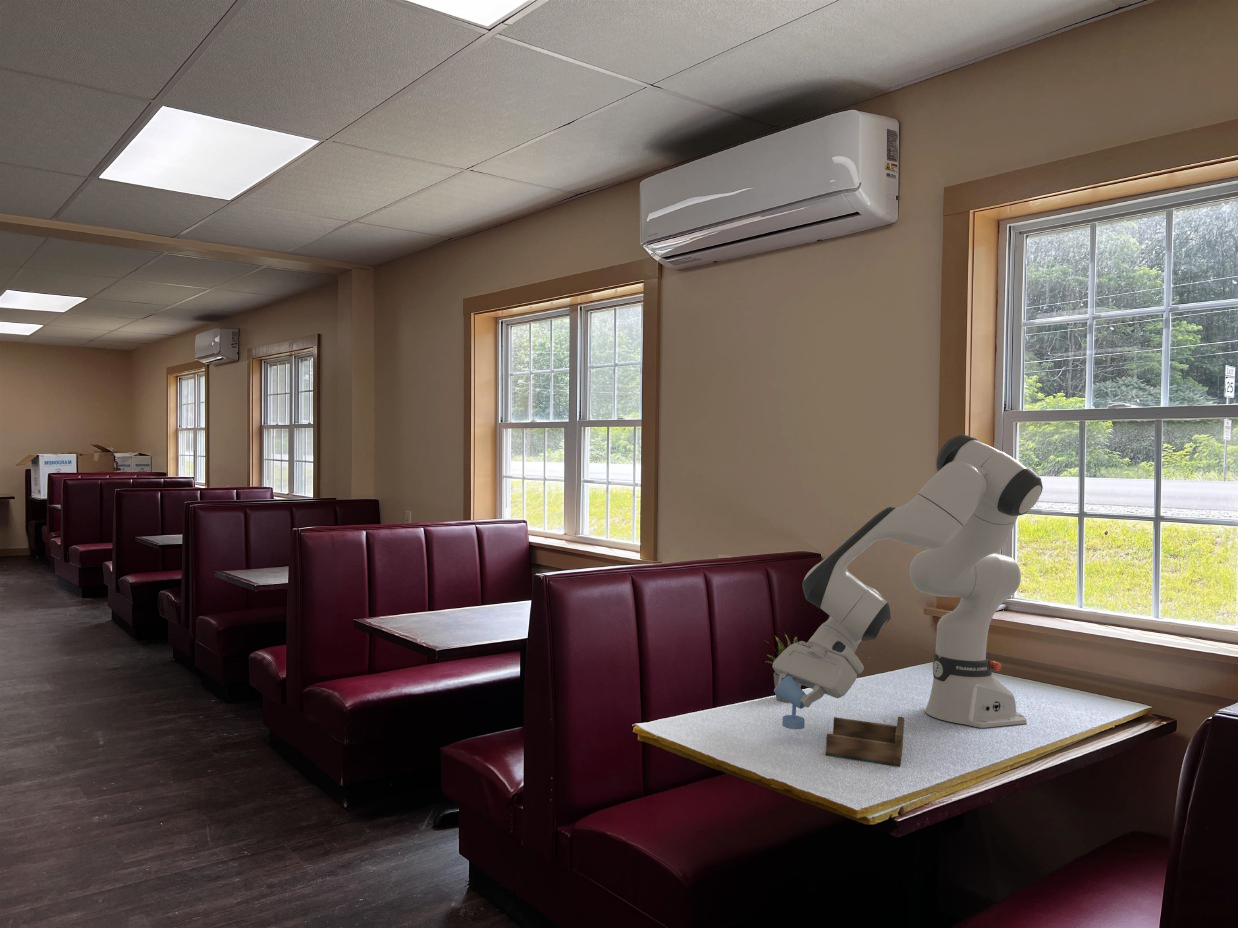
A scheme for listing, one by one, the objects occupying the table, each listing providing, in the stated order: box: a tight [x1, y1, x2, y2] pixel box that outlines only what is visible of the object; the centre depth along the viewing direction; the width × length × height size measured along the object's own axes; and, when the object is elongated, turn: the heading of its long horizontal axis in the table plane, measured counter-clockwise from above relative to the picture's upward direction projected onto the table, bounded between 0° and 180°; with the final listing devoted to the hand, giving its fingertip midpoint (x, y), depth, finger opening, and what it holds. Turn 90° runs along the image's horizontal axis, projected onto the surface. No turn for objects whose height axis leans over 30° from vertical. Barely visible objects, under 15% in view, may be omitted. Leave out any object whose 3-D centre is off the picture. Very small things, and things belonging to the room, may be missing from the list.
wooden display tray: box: [825, 716, 905, 768], centre depth 176 cm, size 14×14×6 cm
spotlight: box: [774, 676, 807, 730], centre depth 181 cm, size 5×10×7 cm
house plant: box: [763, 632, 808, 704], centre depth 212 cm, size 14×14×16 cm
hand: (790, 699), depth 181 cm, fingers closed on spotlight, 7 cm apart
